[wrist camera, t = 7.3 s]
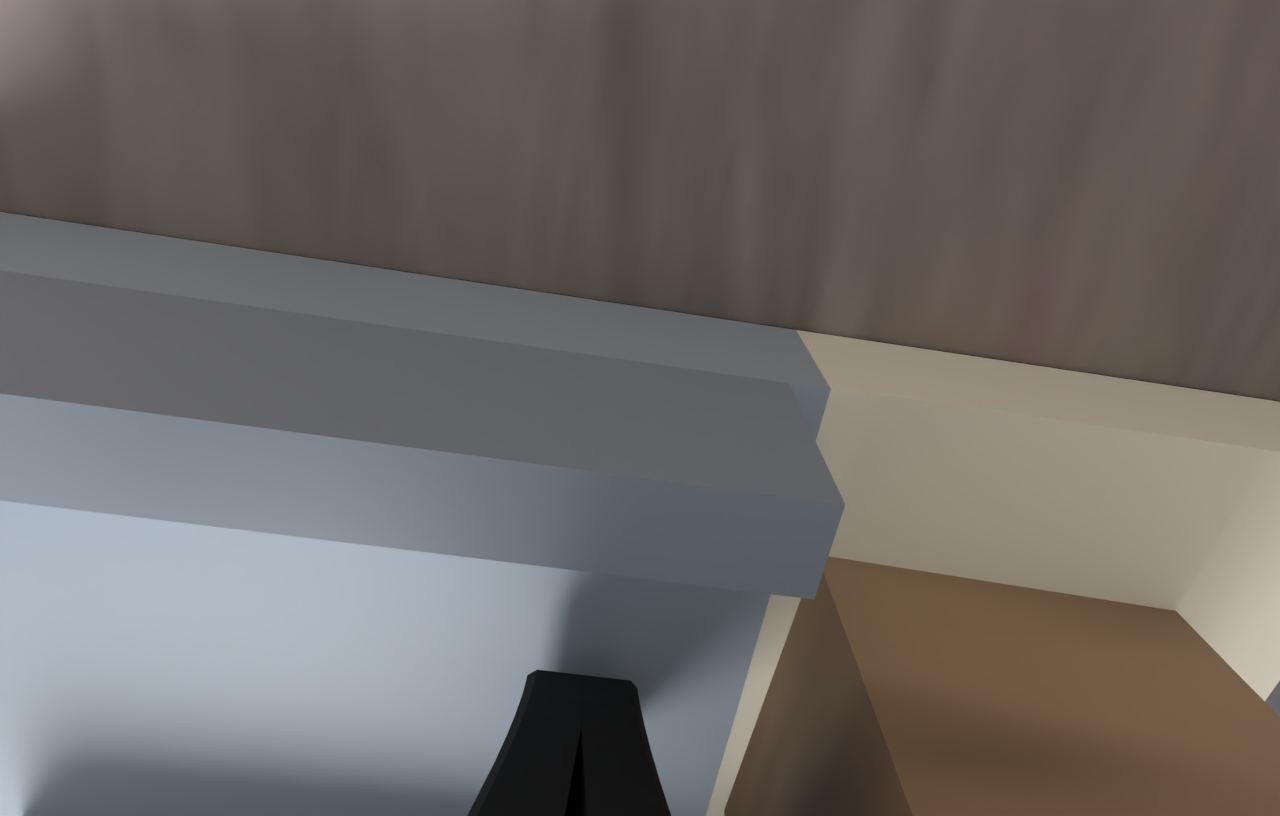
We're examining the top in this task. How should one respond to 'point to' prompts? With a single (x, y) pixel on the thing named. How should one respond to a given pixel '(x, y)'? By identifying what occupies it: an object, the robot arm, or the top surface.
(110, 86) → the top surface
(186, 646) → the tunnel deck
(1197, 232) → the top surface
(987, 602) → the block
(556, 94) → the top surface
